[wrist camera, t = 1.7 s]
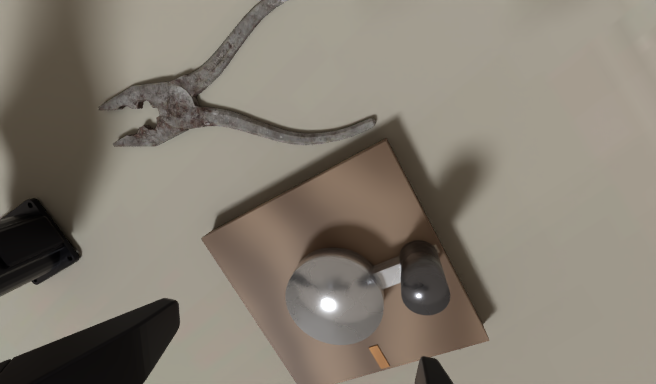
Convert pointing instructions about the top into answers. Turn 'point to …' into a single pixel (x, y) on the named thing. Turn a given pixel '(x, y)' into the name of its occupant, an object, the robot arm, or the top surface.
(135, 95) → the pliers
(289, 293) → the crank handle
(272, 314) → the dial plate
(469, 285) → the top surface
